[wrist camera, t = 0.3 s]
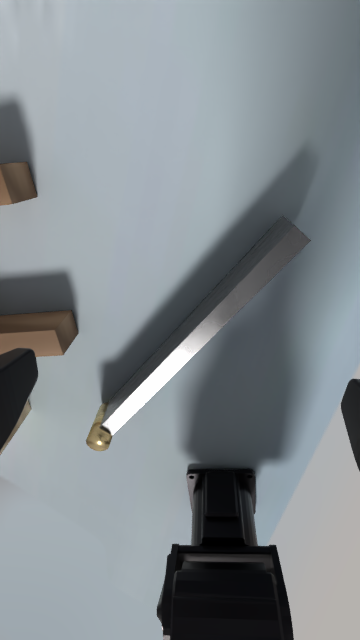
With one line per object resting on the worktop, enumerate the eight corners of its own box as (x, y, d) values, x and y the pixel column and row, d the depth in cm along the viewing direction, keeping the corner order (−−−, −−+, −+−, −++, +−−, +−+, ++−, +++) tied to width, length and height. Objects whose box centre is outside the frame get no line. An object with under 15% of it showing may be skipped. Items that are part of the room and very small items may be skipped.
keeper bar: (113, 421, 28) (101, 454, 25) (95, 410, 28) (81, 443, 25) (300, 231, 20) (317, 246, 17) (279, 212, 19) (293, 223, 16)
